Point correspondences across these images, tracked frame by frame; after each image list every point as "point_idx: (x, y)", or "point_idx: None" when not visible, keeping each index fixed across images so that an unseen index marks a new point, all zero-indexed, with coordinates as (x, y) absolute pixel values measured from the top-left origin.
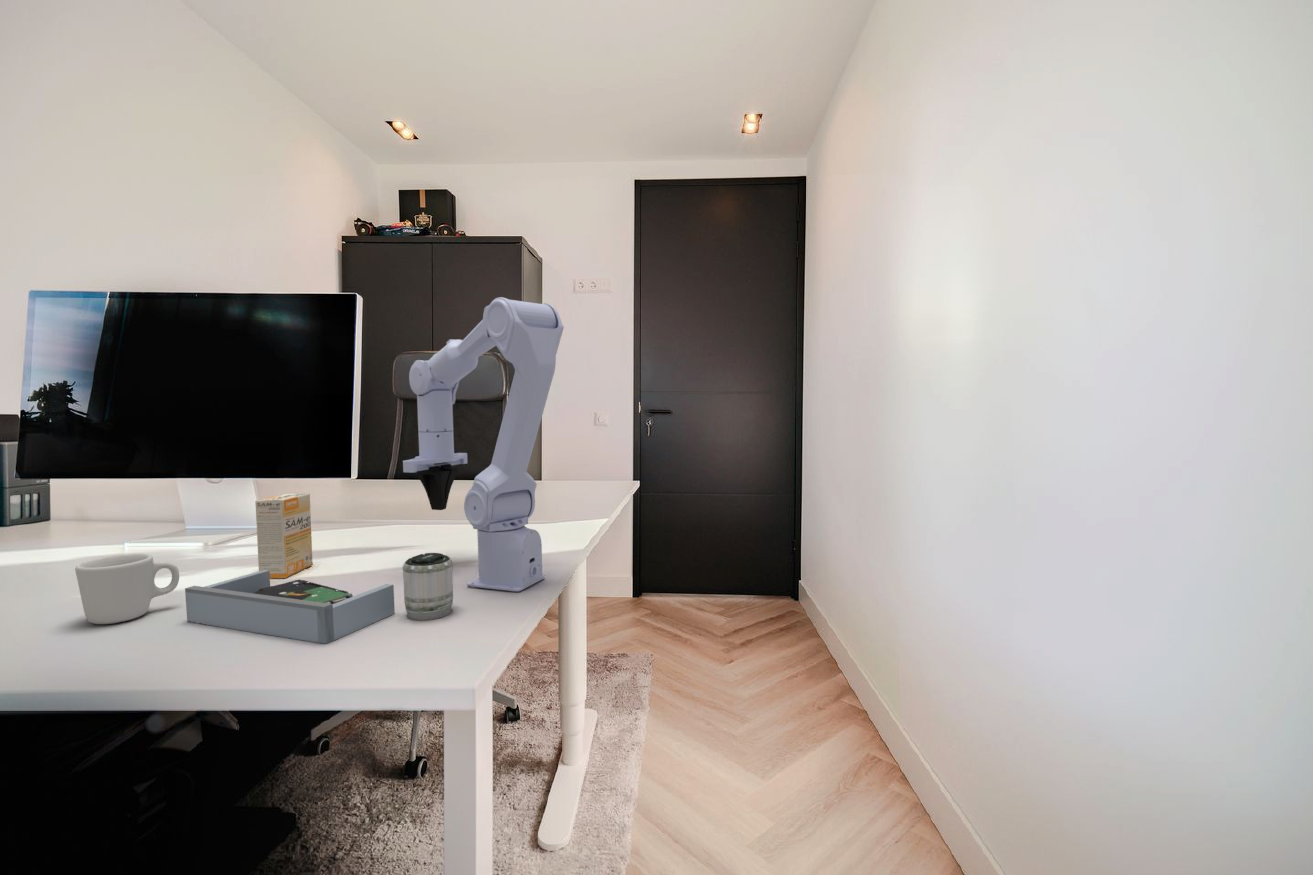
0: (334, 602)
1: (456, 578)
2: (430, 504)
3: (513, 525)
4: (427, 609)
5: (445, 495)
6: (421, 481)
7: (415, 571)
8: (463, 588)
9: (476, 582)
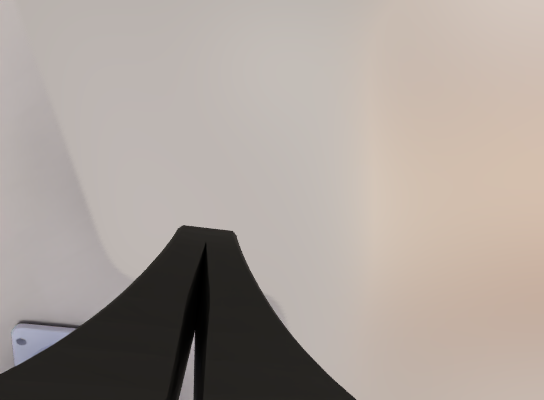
0: None
1: (86, 257)
2: (170, 241)
3: None
4: None
5: (194, 383)
6: (33, 363)
7: None
8: (6, 316)
9: (32, 345)
